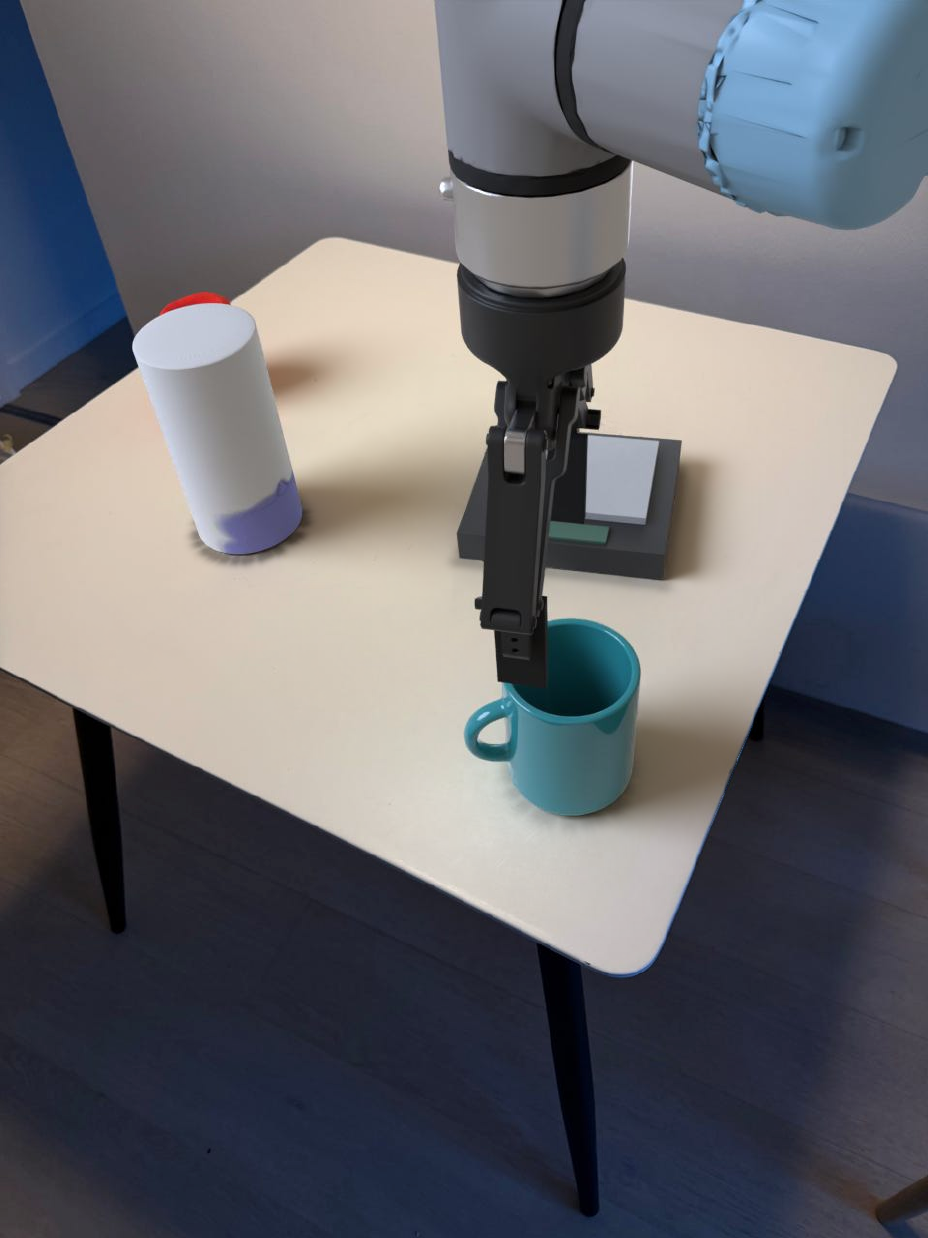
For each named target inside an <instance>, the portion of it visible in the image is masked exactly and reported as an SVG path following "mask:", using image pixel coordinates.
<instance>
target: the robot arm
mask: <svg viewBox="0 0 928 1238" xmlns="http://www.w3.org/2000/svg"><path fill="white" fill-rule="evenodd" d="M433 3H434V12H435V14H434V15H435V23H436V34H437V35H436V36H437V46H438V47H437V48H438V58H439V59H438V60H439V69H440V80H441V91H442V92H441V93H442V103H443V104H442V105H443V115H444V127H445V137H446V147H447V155H448V156H447V157H448V165H449V174H450V175H449V176H444V177H443V178H441V181H440V184H439V187H438V193H439V197H440V198H441V199H443V200H444V201H447V202H453V228H454V241H455V242H454V243H455V252H456V256H457V259H458V261H459V262H460V263H459V264H458V266H457V271H456V282H457V294H458V295H457V296H458V307H459V321H460V332H461V337H462V340H463V342H464V344H465V346H466V348H467V349H468V350H469V352H470V353H471V354H472V355H473V356H474V357H475V358H477V359H478V360H479V361H480V362H482V363H484V364H486V365H488V366H490V367H491V368H493V369H494V370H495V371H497V372H498V373H499V374H500V375H501V376H503V378H505V380H498V381H497V382H496V386H495V393H494V403H493V411H494V414H495V415H496V417H497V422H496V423H497V424H496V425H497V426H495V425H490V427H488V432H487V433H486V436H485V445H486V450H487V453H488V493H487V512H486V531H485V550H484V561H483V570H482V572H483V573H482V588H481V589H482V593H481V596H477V597H475V598H474V609H475V610H478V611H480V612H479V625H480V628H481V630H489V631H493V637H494V650H495V666H496V677H497V678H496V680H497V681H496V682H497V683H502V682H503V683H510V684H517V685H524V686H531V687H538V688H545V689H546V685H547V681H548V621H549V620H548V619H549V616H548V595H544V584H545V575H546V568H547V567H546V558H547V549H548V539H549V530H550V521H557V522H566V523H576V524H584V522H585V517H586V486H587V451H588V434H582V433H580V432H581V429H582V430H592V431H600V428H601V420H602V409H595V408H589V406H588V403H591V402H592V399H593V398H594V397H595V391H596V389H595V387H594V379H593V365H592V364H594V363H597V362H598V361H600V360H601V359H602V358H604V357H605V356H606V355H608V354H609V353H610V352H611V351H612V350H613V349H614V347H615V346H616V345H617V343H618V342H619V340H620V337H621V336H622V333H623V328H624V318H625V317H624V316H625V315H624V313H625V297H626V280H627V279H626V278H627V277H626V276H627V265H626V261H625V259H624V256H625V254H626V253H627V252H628V249H629V243H630V232H631V231H630V228H631V213H632V195H633V194H632V193H633V180H634V179H633V176H634V162H635V163H638V164H640V165H643V166H646V167H648V168H650V169H653V170H656V171H659V172H661V173H663V174H665V175H668V176H671V177H674V178H676V179H679V180H681V181H684V182H686V183H689V184H691V185H694V186H696V187H699V188H701V189H704V190H707V191H709V192H711V193H714V194H717V195H719V196H722V197H724V198H727V199H730V200H732V201H733V202H734V203H735V204H736V205H737V206H740V207H743V208H747V209H748V210H751V211H753V212H755V213H757V214H762V213H768V214H770V215H772V216H775V217H791V218H794V219H799V220H802V221H806V222H809V223H813V224H815V225H818V226H819V225H820V226H823V227H825V228H830V229H833V230H841V231H857V230H861V229H865V228H870V227H873V226H875V225H877V224H880V223H882V222H884V221H885V220H887V219H888V218H891V217H892V216H894V215H895V214H896V213H898V212H899V211H900V210H902V209H904V207H906V205H908V204H909V203H910V202H911V201H912V200H913V199H914V198H915V196H916V194H917V192H918V190H919V188H920V186H921V183H922V182H923V180H924V179H925V177H928V0H433Z"/></svg>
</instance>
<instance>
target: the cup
mask: <svg viewBox="0 0 928 1238" xmlns="http://www.w3.org/2000/svg"><path fill="white" fill-rule="evenodd" d="M641 671H642V670H641V663H640V659H639V656H638V654H637V652H636V650H635V649H634V647H633V646H632V644H631V643H630V642H629V641H628V639H626V637H624V636H623V635H622V634H621V633H620V632H619V631H617V630H615V629H613V628H612V627H610V626H608V625H605V624H603V623H600V622H598V621H595V620H590V619H586V618H578V617H577V618H576V617H564V618H554V619H551V620H548V681H547V685H546V689H545V688H538V687H531V686H524V685H517V684H510V683H503V682H501V697H500V698H498V699H496V700H493V701H491V702H488V703H486V704H485V705H483V706H481V707H480V708H478V709H476V710H475V711H474V712H473V713H472V714H471V715H470V716H469V717H468V719H467V721H466V722H465V724H464V728H463V742H464V743H465V746H466V748H467V750H468V751H469V752H470V753H471V755H473V756H474V757H476V758H477V759H479V760H482V761H486V762H490V763H491V762H492V763H505V762H506V763H507V764H508V765H507V766H508V767H507V768H508V772H509V776H510V779H511V781H512V783H513V785H514V787H515V788H516V790H517V791H518V792H519V794H520V795H521V796H522V797H523V798H524V799H525V800H527V802H529V803H530V804H532V805H533V806H534V807H537V808H538V809H541V810H543V811H545V812H547V813H551V814H556V815H558V816H559V815H560V816H571V817H572V816H574V817H575V816H583V815H588V814H592V813H596V812H599V811H600V810H603V809H605V808H607V807H608V806H610V805H611V804H612V803H614V802H615V801H616V800H618V798H619V797H620V796H621V795H622V794H623V792H625V790H626V789H627V787H628V785H629V784H630V783H629V782H630V781H631V779H632V778H631V777H632V774H633V770H634V760H635V759H634V758H635V747H636V734H637V723H638V713H639V700H640V688H641V677H642V672H641ZM501 719H504V731H505V733H504V734H505V735H504V737H505V741H504V742H503V743H489V742H485V741H483V740H481V739H479V735H480V733H481V732H482V731H483V730H484V729H485V728H486V727H487V726H489V725H490V724H491V723H495V722H496V721H499V720H501Z"/></svg>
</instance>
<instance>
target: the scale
mask: <svg viewBox="0 0 928 1238" xmlns="http://www.w3.org/2000/svg"><path fill="white" fill-rule="evenodd" d="M494 426H497V424H496V425H494ZM580 433H582V434H588V451H587V486H586V517H585V522H584V524H576V523H566V522H557V521H550V530H549V539H548V549H547V558H546V567H545V568H549V569H555V570H556V569H558V570H565V571H566V570H567V571H574V572H575V571H576V572H583V573H592V574H601V575H611V576H619V577H629V578H639V579H647V580H655V581H663V580H664V574H665V573H664V572H665V566H666V559H667V552H668V545H669V539H670V532H671V524H672V519H673V511H674V504H675V496H676V490H677V482H678V476H679V470H680V461H681V452H682V443H683V440H681V439H673V438H672V439H671V438H660V437H659V438H658V437H645V436H636V435H635V436H634V435H623V434H611V433H598V432H597V433H596V432H583V431H580ZM487 493H488V453H487V449H486V450H485V453H484V455H483V459H482V461H481V463H480V467H479V470H478V473H477V475H476V478H475V481H474V483H473V487H472V489H471V492H470V495H469V498H468V500H467V503H466V506H465V508H464V512H463V514H462V518H461V520H460V522H459V525H458V528H457V530H456V531H457V532H456V540H457V549H458V557H459V559H466V560H477V561H482V562H484V550H485V531H486V512H487Z"/></svg>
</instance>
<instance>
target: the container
mask: <svg viewBox="0 0 928 1238" xmlns="http://www.w3.org/2000/svg"><path fill="white" fill-rule="evenodd" d="M131 346H132V347H131V348H132V352H133V355H134V357H135V360H136V364H137V366H138V369H139V371H140V374H141V378H142V380H143V384H144V385H145V388H146V391H147V394H148V397H149V399H150V402H151V406H152V409H153V410H154V411H153V412H154V413H155V416H156V419H157V422H158V424H159V427H160V430H161V433H162V436H163V438H164V441H165V444H166V447H167V449H168V453H169V455H170V458H171V461H172V464H173V466H174V469H175V472H176V475H177V477H178V481H179V484H180V486H181V489H182V491H183V494H184V497H185V500H186V503H187V505H188V508H189V511H190V513H191V516H192V519H193V522H194V524H195V528H196V530H197V533H198V535H199V538H200V540H201V541H202V542H203V543H204V544H205V545H206V546H207V547H208V548H210V549H212V550H214V551H217V552H220V553H224V554H229V555H247V554H253V553H259V552H262V551H264V550H268V549H270V548H273V547H274V546H276V545H278V544H280V543H282V542H283V541H285V540H286V539H287V538H288V537H290V536H291V535H292V534H293V533H294V532H295V530H296V529H298V527H299V525H300V523H301V520H302V518H303V506H302V501H301V498H300V494H299V490H298V486H297V483H296V482H297V481H296V478H295V474H294V470H293V465H292V462H291V457H290V454H289V449H288V446H287V442H286V438H285V433H284V431H283V426H282V422H281V418H280V414H279V411H278V410H279V409H278V407H277V406H278V405H277V403H276V398H275V395H274V390H273V386H272V382H271V378H270V373H269V371H268V366H267V362H266V359H265V355H264V351H263V347H262V342H261V338H260V335H259V331H258V326H257V323H256V320H255V318H254V316H252V314H251V313H249V311H247V310H245V309H243V308H242V307H239V306H235V305H232V304H231V305H228V304H219V303H206V304H196V305H191V306H186V307H182V308H178V309H175V310H172V311H170V312H167V313H165V314H163V315H161V316H156V317H155V318H153V319H151V320H150V321H148V323H146V324H145V325H143V326H142V327H141V329H140V330H139V331H138V332H137V334H136V335H135V336H134V338H133V341H132V345H131Z"/></svg>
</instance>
